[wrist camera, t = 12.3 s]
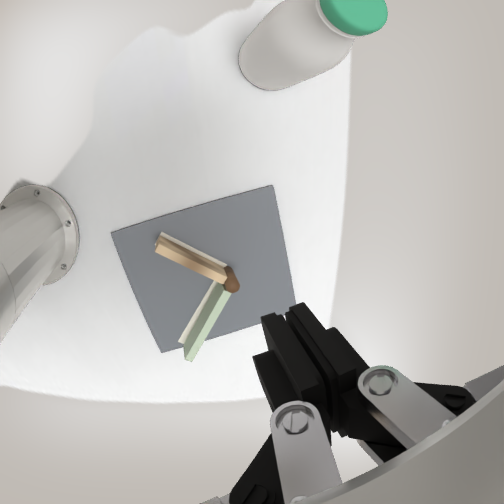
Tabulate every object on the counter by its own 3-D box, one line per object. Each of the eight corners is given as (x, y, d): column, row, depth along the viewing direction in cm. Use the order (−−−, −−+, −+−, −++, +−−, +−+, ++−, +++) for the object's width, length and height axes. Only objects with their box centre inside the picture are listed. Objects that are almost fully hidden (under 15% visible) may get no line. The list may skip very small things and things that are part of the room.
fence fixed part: (155, 243, 36) (153, 256, 32) (161, 231, 36) (159, 243, 32) (228, 278, 40) (235, 295, 36) (234, 268, 40) (242, 283, 36)
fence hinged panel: (220, 278, 39) (224, 290, 36) (227, 281, 39) (231, 293, 36) (183, 345, 41) (184, 359, 38) (189, 347, 41) (191, 362, 38)
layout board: (161, 351, 41) (161, 353, 41) (111, 232, 34) (110, 233, 34) (296, 310, 44) (297, 311, 44) (272, 185, 37) (273, 185, 37)
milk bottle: (285, 102, 34) (391, 75, 16) (226, 74, 32) (286, 9, 13) (308, 51, 33) (416, 0, 14) (253, 23, 30) (327, -62, 12)
